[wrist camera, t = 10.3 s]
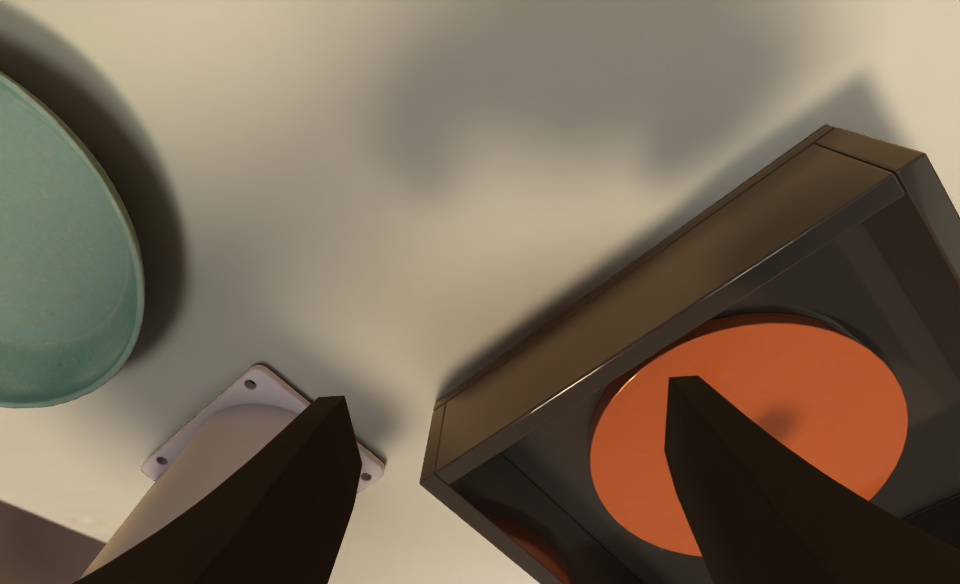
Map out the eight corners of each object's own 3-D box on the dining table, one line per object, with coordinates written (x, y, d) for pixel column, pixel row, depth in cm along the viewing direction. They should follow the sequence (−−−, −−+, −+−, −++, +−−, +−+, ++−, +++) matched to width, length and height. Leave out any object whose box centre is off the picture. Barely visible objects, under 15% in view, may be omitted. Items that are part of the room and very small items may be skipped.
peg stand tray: (672, 618, 30) (700, 716, 26) (434, 403, 24) (418, 484, 20) (1027, 461, 24) (1140, 555, 20) (826, 123, 18) (926, 151, 14)
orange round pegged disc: (686, 577, 28) (744, 749, 21) (528, 424, 24) (536, 578, 17) (944, 457, 23) (1117, 625, 17) (803, 247, 19) (957, 359, 13)
